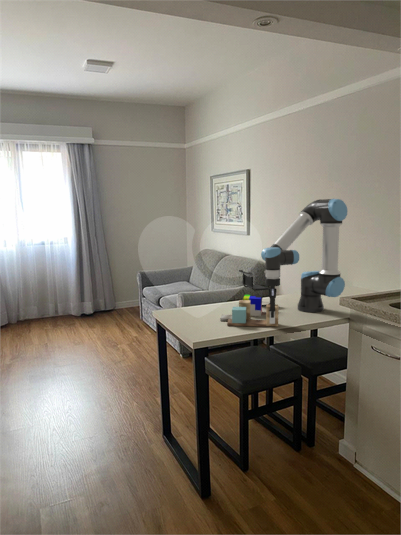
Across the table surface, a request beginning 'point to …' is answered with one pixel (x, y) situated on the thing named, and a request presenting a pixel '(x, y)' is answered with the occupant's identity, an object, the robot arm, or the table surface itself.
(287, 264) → the robot arm
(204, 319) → the table surface
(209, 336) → the table surface
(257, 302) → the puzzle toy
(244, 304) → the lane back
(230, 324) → the lane front
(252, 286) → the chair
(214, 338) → the table surface
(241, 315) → the cube
